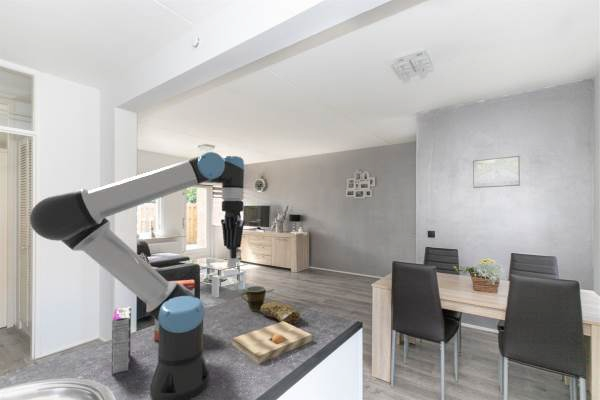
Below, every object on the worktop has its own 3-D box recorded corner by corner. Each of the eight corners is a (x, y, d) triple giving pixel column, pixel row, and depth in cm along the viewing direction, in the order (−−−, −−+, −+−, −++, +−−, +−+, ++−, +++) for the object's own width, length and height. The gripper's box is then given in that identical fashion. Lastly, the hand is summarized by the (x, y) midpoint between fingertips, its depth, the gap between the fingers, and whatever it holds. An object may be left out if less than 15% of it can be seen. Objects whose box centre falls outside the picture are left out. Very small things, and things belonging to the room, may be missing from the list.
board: (258, 363, 92) (258, 356, 92) (232, 345, 105) (232, 338, 105) (311, 341, 109) (311, 334, 109) (283, 327, 121) (283, 321, 121)
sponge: (302, 325, 127) (282, 303, 144) (302, 309, 125) (281, 289, 142) (276, 336, 121) (258, 312, 137) (275, 320, 119) (256, 297, 135)
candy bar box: (113, 358, 95) (114, 308, 96) (130, 354, 98) (131, 306, 98) (110, 375, 85) (111, 319, 86) (129, 370, 88) (131, 316, 88)
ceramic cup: (259, 304, 150) (259, 285, 150) (269, 309, 142) (269, 289, 142) (236, 309, 142) (236, 289, 142) (246, 315, 134) (246, 294, 134)
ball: (271, 333, 104) (268, 341, 105) (278, 342, 102) (274, 350, 103) (280, 330, 107) (277, 337, 108) (286, 338, 104) (283, 346, 106)
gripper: (251, 200, 99) (250, 268, 99) (233, 200, 109) (232, 263, 108) (232, 199, 94) (231, 272, 93) (214, 200, 104) (213, 265, 103)
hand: (231, 267), depth 101 cm, fingers closed
